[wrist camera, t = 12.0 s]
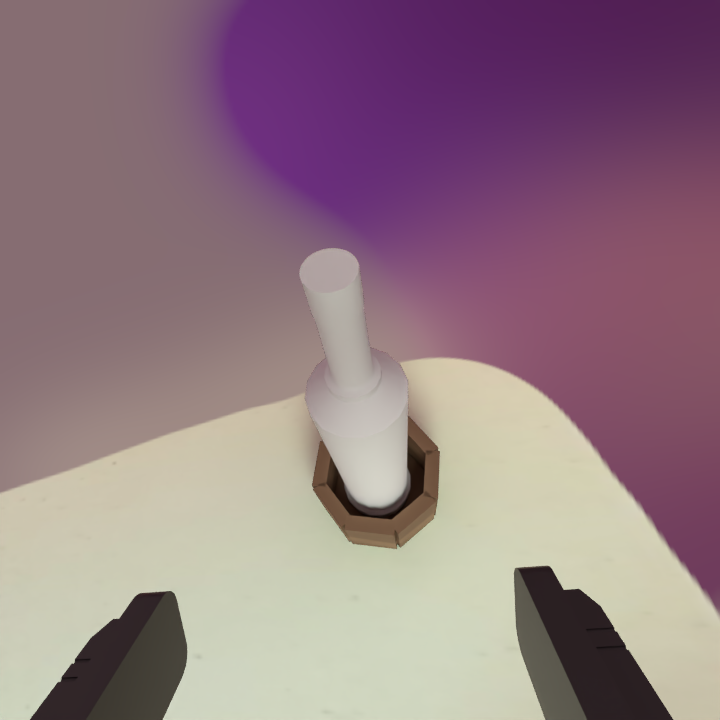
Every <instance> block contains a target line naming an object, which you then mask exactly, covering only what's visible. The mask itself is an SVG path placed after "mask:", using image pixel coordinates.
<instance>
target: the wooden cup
mask: <svg viewBox="0 0 720 720" xmlns="http://www.w3.org/2000/svg"><path fill="white" fill-rule="evenodd" d="M439 456H440V451H438V447H437V446H436V445H435V444H434V443H433V442H432V440H431V439H430V438H429V437H428V436H427V435H426V434H425V433H424V432H423V431H422V430H421V429H420V428H419V427H418V426H417V425H416V424H415V422H414V421H413V420H412V419H411V418H410V417H409V416H408V439H407V468H408V471H409V473H410V485H411V489H410V493H409V496H408V498H407V500H406V503H405V505H404V506H403V507H402V508H400V509H399V510H398V511H397V512H396V513H395V514H392V515H390V516H387V517H385V518H371V517H369V516H367V515H364V514H362V513H360V512H359V511H358V510H357V509H356V508H355V507H354V506H353V505H352V504H351V503H350V501H349V500H348V497H347V494H346V491H345V488H344V481H343V479H342V477H341V475H340V473H339V471H338V469H337V467H336V465H335V463H334V461H333V459H332V457H331V455H330V453H329V451H328V449H327V448H326V446H325V444H324V442H323V441H320V445H319V450H318V456H317V461H316V467H315V472H314V477H313V483H312V486H313V488H314V489H313V490H314V492H315V493H316V495H317V496H318V498H319V499H320V501H321V502H322V504H323V506H324V507H325V508H326V510H327V511H328V513H329V514H330V515H331V517H332V518H333V520H334V521H335V522H336V524H337V525H338V526H339V528H340V529H341V531H342V532H343V533H344V535H345V536H346V538H347V539H348V540H349V542H350V541H351V542H352V543H353V544H360V545H368V546H377V547H385V548H394V549H397V544H398V545H399V547H400V548H401V547H402V546H403V545H404V544H405V543H406V542H407V541H409V540H410V539H411V538H412V537H413V536H414V535H415V534H417V533H418V532H419V531H420V530H421V529H422V528H423V527H425V526H426V525H427V524H428V523H429V522H430V521H432V520H433V519H434V515H435V513H436V507H437V500H438V482H439Z"/></svg>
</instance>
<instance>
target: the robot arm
mask: <svg viewBox="0 0 720 720" xmlns="http://www.w3.org/2000/svg"><path fill="white" fill-rule="evenodd" d="M514 587H515V612H516V629H517V636H518V641H519V646H520V650H521V653H522V656H523V659H524V662H525V665H526V668H527V670H528V673H529V676H530V678H531V681H532V684H533V687H534V689H535V692H536V695H537V698H538V700H539V703H540V706H541V708H542V711H543V714H544V717H545V719H546V720H673V719H672V717H671V715H670V714H669V712H668V711H667V709H666V708H665V706H664V705H663V703H662V701H661V700H660V698H659V697H658V695H657V694H656V692H655V691H654V689H653V687H652V686H651V684H650V683H649V681H648V680H647V678H646V676H645V675H644V673H643V672H642V670H641V669H640V667H639V666H638V664H637V662H636V661H635V659H634V658H633V656H632V655H631V653H630V652H629V650H627V649H626V645H625V644H624V642H623V641H622V639H621V638H620V636H619V634H618V633H617V632H615V630H614V627H613V625H612V624H611V622H610V620H609V619H608V617H607V616H606V614H605V613H604V611H603V609H602V608H601V606H600V605H598V604H597V603H596V602H595V601H593V600H592V599H591V598H590V597H588V596H587V595H586V594H585V593H584V592H582V591H581V590H580V589H572V590H563V588H562V586H561V584H560V583H559V581H558V579H557V577H556V576H555V574H554V572H553V570H552V569H551V567H550V566H536V567H522V568H515V571H514ZM186 661H187V643H186V639H185V634H184V630H183V625H182V621H181V617H180V612H179V608H178V603H177V599H176V596H175V594H174V593H173V592H171V591H166V592H152V593H140V594H138V595H137V596H135V598H134V599H133V600H132V602H131V603H130V604H129V606H128V607H127V609H126V610H125V611H124V613H123V614H122V616H121V617H120V619H113V620H112V621H110V622H109V623H108V624H107V625H106V626H105V627H103V628H102V629H101V630H100V631H99V632H98V633H96V634H95V635H94V636H93V637H92V638H91V639H90V640H89V641H88V643H87V644H86V645H85V647H84V648H83V649H82V651H81V652H80V653H79V655H78V656H77V657H76V659H75V663H74V664H71V665H70V667H69V668H68V669H67V671H66V672H65V674H64V675H63V676H62V679H61V682H58V683H57V684H56V686H55V687H54V688H53V690H52V691H51V692H50V694H49V695H48V696H47V698H46V699H45V700H44V702H43V703H42V704H41V706H40V707H39V708H38V710H37V711H36V712H35V714H34V715H33V716H32V718H31V719H30V720H163V717H164V715H165V713H166V711H167V709H168V707H169V704H170V702H171V700H172V698H173V696H174V694H175V691H176V689H177V687H178V685H179V683H180V681H181V678H182V676H183V673H184V670H185V666H186Z"/></svg>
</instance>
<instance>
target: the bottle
mask: <svg viewBox="0 0 720 720" xmlns="http://www.w3.org/2000/svg"><path fill="white" fill-rule="evenodd" d="M299 276H300V279H301V282H302V286H303V289H304V292H305V295H306V298H307V302H308V305H309V308H310V311H311V314H312V316H313V318H314V319H315V323H316V326H317V329H318V333H319V336H320V339H321V342H322V346H323V349H324V353H325V356H326V358H325V359H324V360H323V361H321V362H320V363H319V364H318V365H317V366H316V367H315V369H314V370H313V372H312V374H311V376H310V377H309V379H308V381H307V387H306V394H305V401H306V404H307V407H308V410H309V413H310V416H311V418H312V420H313V422H314V424H315V426H316V428H317V430H318V432H319V434H320V436H321V438H322V440H323V442H324V444H325V446H326V448H327V449H328V451H329V453H330V455H331V457H332V459H333V461H334V463H335V465H336V467H337V469H338V471H339V473H340V475H341V477H342V479H343V481H344V488H345V491H346V494H347V497H348V500H349V501H350V503H351V504H352V505H353V506H354V507H355V508H356V509H357V510H358V511H359V512H360V513H362V514H364V515H367V516H369V517H371V518H385V517H387V516H390V515H392V514H395V513H396V512H397V511H398V510H399V509H400V508H402V507H403V506H404V505H405V503H406V500H407V498H408V496H409V493H410V489H411V485H410V473H409V471H408V468H407V439H408V379H407V377H406V375H405V373H404V371H403V369H402V367H401V365H400V364H399V363H398V362H397V361H395V360H394V359H393V358H392V357H391V356H390V355H389V354H387V353H386V352H383V351H379V350H377V349H374V348H371V347H370V344H369V337H368V331H367V325H366V318H365V312H364V295H363V289H362V282H361V275H360V268H359V263H358V261H357V259H356V257H355V256H354V255H352V254H351V253H350V252H348V251H346V250H342V249H338V248H330V249H324V250H320V251H318V252H315V253H313V254H312V255H310V256H309V257H308V258H306V260H305V261H304V262H303V264H302V265H301V267H300V274H299Z"/></svg>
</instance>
